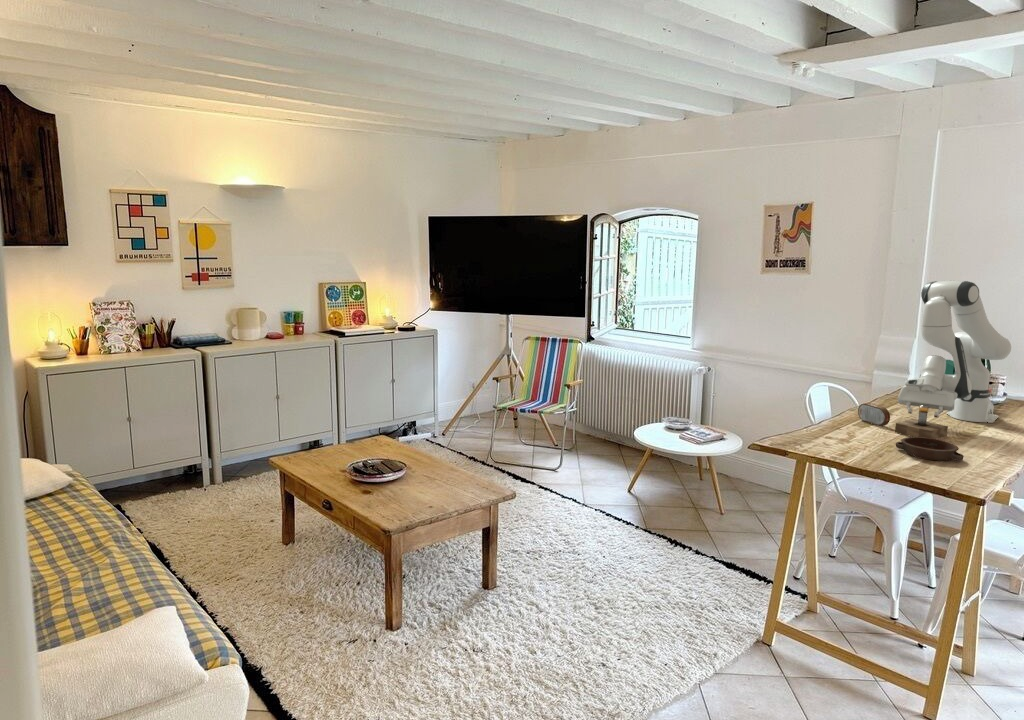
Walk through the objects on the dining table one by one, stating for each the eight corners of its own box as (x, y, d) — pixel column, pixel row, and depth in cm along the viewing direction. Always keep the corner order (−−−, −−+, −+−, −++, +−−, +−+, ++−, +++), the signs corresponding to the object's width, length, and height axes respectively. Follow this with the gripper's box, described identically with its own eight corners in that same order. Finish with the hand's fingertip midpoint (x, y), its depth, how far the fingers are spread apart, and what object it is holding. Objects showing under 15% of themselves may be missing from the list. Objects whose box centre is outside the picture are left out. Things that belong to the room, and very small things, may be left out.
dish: (901, 445, 270) (902, 432, 269) (967, 457, 255) (969, 444, 254) (888, 454, 257) (890, 441, 256) (958, 468, 242) (960, 454, 241)
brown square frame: (911, 427, 295) (912, 418, 294) (946, 435, 284) (947, 426, 283) (894, 432, 287) (895, 423, 286) (930, 440, 276) (931, 431, 275)
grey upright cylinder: (918, 432, 288) (921, 404, 286) (926, 434, 285) (930, 406, 283) (914, 433, 286) (918, 405, 284) (922, 435, 283) (926, 407, 281)
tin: (889, 427, 295) (891, 408, 294) (884, 428, 294) (886, 408, 293) (861, 419, 309) (863, 400, 308) (855, 419, 308) (857, 401, 306)
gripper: (958, 395, 285) (952, 423, 279) (902, 388, 298) (895, 414, 292) (958, 386, 281) (952, 414, 275) (901, 380, 293) (894, 406, 287)
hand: (922, 414), depth 283 cm, fingers open, 8 cm apart
